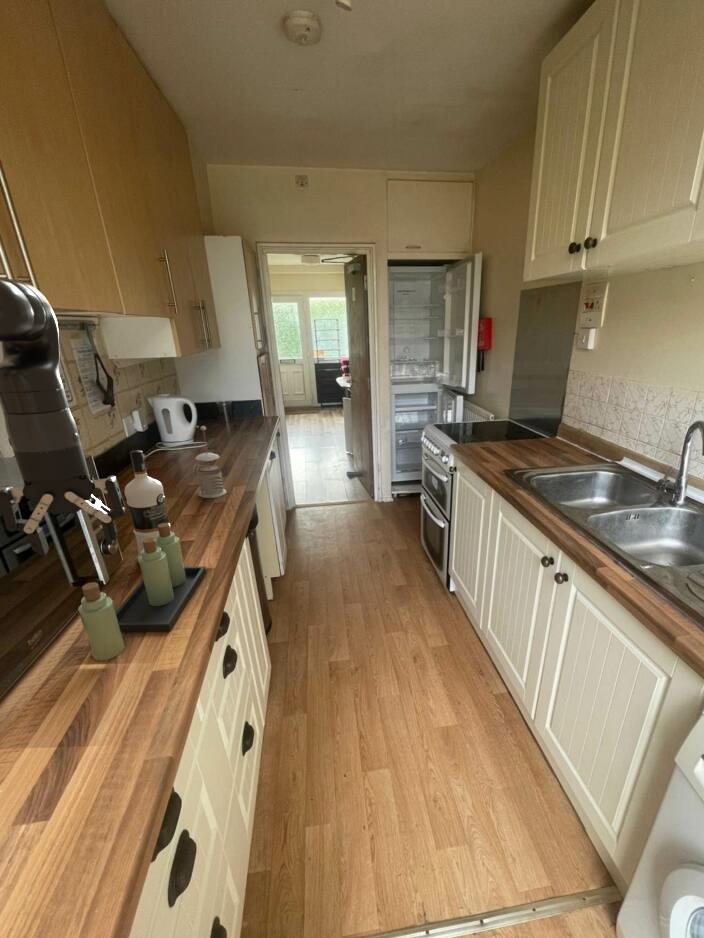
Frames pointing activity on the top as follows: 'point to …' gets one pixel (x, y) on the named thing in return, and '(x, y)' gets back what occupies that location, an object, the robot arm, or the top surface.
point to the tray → (162, 618)
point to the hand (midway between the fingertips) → (78, 547)
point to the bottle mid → (155, 574)
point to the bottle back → (171, 553)
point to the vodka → (145, 502)
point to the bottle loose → (100, 623)
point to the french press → (209, 475)
